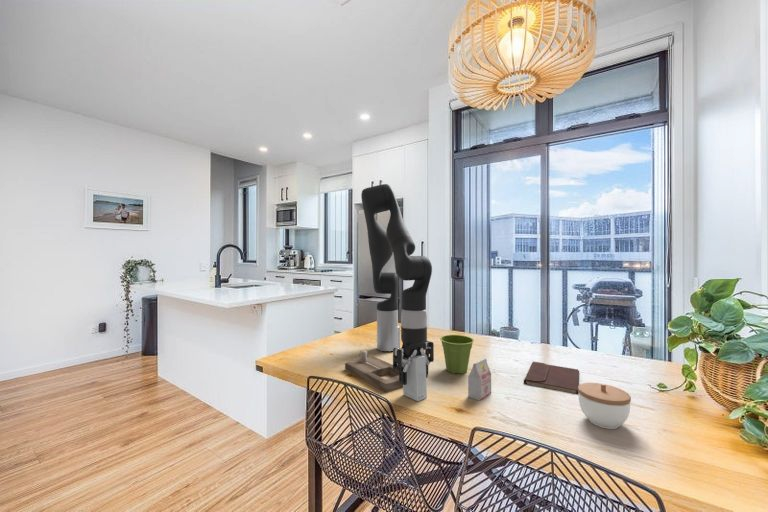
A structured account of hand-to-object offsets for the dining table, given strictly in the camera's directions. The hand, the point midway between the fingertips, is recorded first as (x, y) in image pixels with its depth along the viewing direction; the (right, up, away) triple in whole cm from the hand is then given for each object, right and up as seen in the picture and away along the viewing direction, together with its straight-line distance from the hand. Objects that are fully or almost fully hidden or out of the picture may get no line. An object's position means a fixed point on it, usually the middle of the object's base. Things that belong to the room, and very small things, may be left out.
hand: (414, 380), depth 94 cm
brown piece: (-11, -4, +16) cm, 20 cm away
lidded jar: (+45, -5, -15) cm, 48 cm away
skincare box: (0, -5, 0) cm, 5 cm away
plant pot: (+17, -5, +21) cm, 27 cm away
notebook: (+47, -5, +14) cm, 50 cm away
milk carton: (+19, -5, +1) cm, 20 cm away
